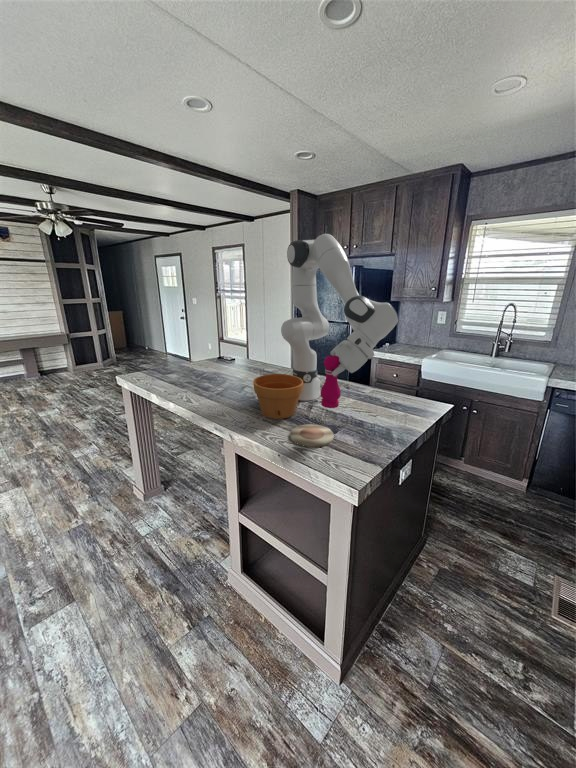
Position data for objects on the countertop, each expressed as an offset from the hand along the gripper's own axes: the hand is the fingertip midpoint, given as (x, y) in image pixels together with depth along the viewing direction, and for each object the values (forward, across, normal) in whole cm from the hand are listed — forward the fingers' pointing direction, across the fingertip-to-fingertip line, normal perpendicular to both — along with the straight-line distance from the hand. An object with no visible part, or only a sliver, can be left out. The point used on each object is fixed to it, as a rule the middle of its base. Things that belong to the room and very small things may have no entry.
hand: (330, 372), depth 112 cm
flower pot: (+29, -24, +7) cm, 38 cm away
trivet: (+22, 0, +14) cm, 26 cm away
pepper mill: (+9, 0, +9) cm, 13 cm away
